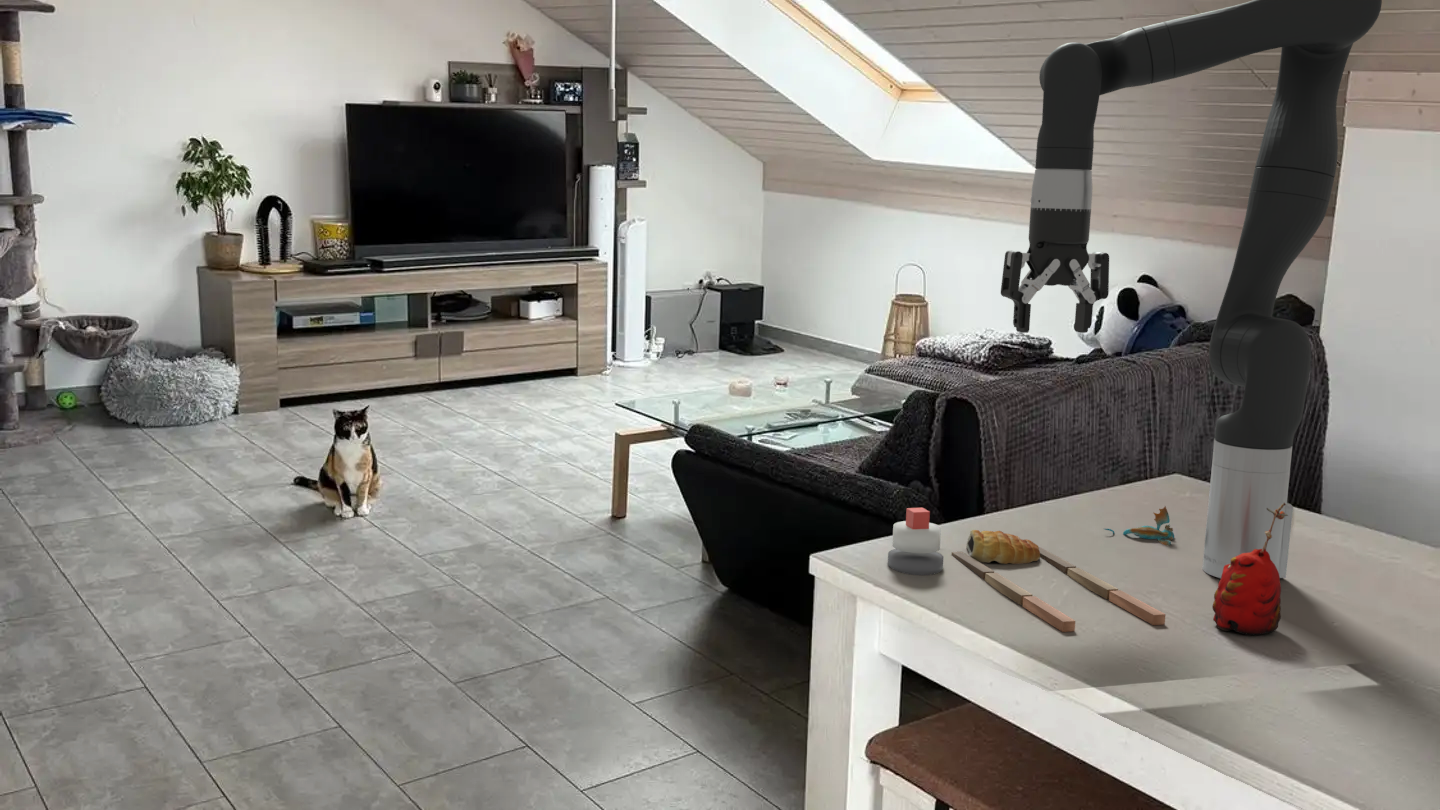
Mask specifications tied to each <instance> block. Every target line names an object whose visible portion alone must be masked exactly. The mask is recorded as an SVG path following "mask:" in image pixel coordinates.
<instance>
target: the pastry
mask: <svg viewBox="0 0 1440 810" xmlns="http://www.w3.org/2000/svg"><path fill="white" fill-rule="evenodd" d="M969 533H970V534H969V536H968V538H967V541H966V549H967V550H968V553H969V554H968V556H970V557H972V558H973V559H975V560H977V561H978V562H980V563H991V562H994V561H995V562H997V563H998V564H1005V565H1007V564H1013V565H1015V564H1016V565H1017V564H1018V565H1019V564H1030V563H1032V562H1038V560H1040V558H1041V557H1040V551H1039V545H1038V544H1036V543H1035V542H1034V541H1032V540H1030V539H1022V538H1020V537H1019V536H1018V535H1014V534H1010V533H1005V532H1004V531H1001V530H995V531H991V530H982V531H980V530H978V529H972V530H970V532H969Z"/></svg>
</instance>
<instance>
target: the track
mask: <svg viewBox="0 0 1440 810" xmlns="http://www.w3.org/2000/svg"><path fill="white" fill-rule="evenodd" d="M1038 547H1039V546H1038ZM1039 551H1040V558H1042V559H1043V560H1044V561H1046V562H1048V563H1049V564H1051V565H1052V566H1053V567H1055V568H1057V569H1058V570H1059V571H1061V572H1062V573H1064V574H1066V575H1067V576H1068V577H1070V578H1071V579H1073V580H1074V581H1076V582H1077V583H1078V584H1081V586H1083V587H1084V588H1086V589H1088V590H1089V591H1091V592H1092V593H1095V594H1096V595H1098V596H1100V597H1101V598H1104V600H1108V601H1109V603H1110V602H1111V603H1113V604H1114V605H1116V606H1118V607H1120V608H1121V609H1123V610H1125V611H1126V612H1129V613H1130V614H1132V615H1134V616H1136V617H1138V618H1139V619H1141V620H1143V621H1145V622H1147V623H1149V624H1150V625H1152V626H1160V625H1161V626H1163V625H1165V623H1166V615H1167V614H1166V613H1164V612H1162V611H1160V610H1158V609H1157V608H1154V607H1153V606H1150V605H1149V604H1147V603H1145V602H1144V601H1141V600H1140V599H1138V598H1136V597H1134V596H1132V595H1131V594H1129V593H1127V592H1125V591H1123V590H1121V589H1120V590H1119V588H1117V587H1115V586H1114V585H1112V584H1110V583H1108V582H1106V581H1104V580H1102V579H1100V578H1098V577H1097V576H1095V575H1094V574H1091V573H1089V572H1087V571H1086V570H1083V568H1080V567H1077V566H1076V565H1074V564H1072V563H1071V562H1069V561H1067V560H1065V559H1063V558H1061V557H1059V556H1057V555H1056V554H1054V553H1052V552H1050V551H1048V550H1046V549H1045V548H1042V547H1039ZM951 556H952V557H954V558H955V559H956V560H957V561H959V562H960V563H962V565H964V566H966V567H967V568H968V567H969V568H970V570H971V571H972V570H973V571H974V572H973V571H972V572H973V573H975V574H976V575H977V574H978V575H977V576H978V577H980V578H981V579H982V578H983V579H982V580H984V581H985V582H986V583H987V584H989V585H991V587H993V588H994V589H996V590H997V591H998V592H999V593H1000V594H1003V595H1004V596H1005V597H1006V598H1008V599H1010V600H1012V601H1014V602H1015V603H1016V604H1018V605H1019V606H1022V607H1023V608H1024V609H1025V610H1027V611H1029V612H1030V613H1032V614H1033V615H1035V616H1036V617H1038V618H1039V619H1041V620H1043V621H1044V622H1045V623H1048V624H1049V625H1051V627H1054V628H1055V629H1057V630H1059V631H1060V632H1062V633H1069V632H1070V633H1071V632H1075V631H1076V620H1075V619H1074V618H1071V617H1070V616H1068V615H1067V614H1065V613H1063V612H1062V611H1060V610H1059V609H1057V608H1055V607H1053V606H1052V605H1050V604H1049V603H1047V602H1046V601H1043V600H1042V599H1040V598H1039V597H1037V596H1035V595H1033V593H1030V592H1029V591H1027V590H1026V589H1024V588H1022V587H1021V586H1019V585H1017V584H1016V583H1014V582H1013V581H1011V580H1010V579H1008V578H1007V577H1004V576H1003V575H1001V574H999V573H998V572H995V571H994V570H993V569H991V568H990V567H988V566H986V565H985V564H984V563H983V562H979V561H977V560H975V559H973V558H972V557H970V555H969V554H967V553H965V552H963V551H952V552H951ZM969 568H968V569H969Z"/></svg>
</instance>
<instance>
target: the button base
mask: <svg viewBox="0 0 1440 810" xmlns="http://www.w3.org/2000/svg"><path fill="white" fill-rule="evenodd" d="M887 565H888V567H889V568H890V569H892V570H893V571H896V572H899V573H902V574H907V575H913V576H914V575H915V576H931V575H930V574H932V575H935V574H939V573H941V572H942V571H943V570H942V569H944V555H943V554H942V553H940V552H938V551H936V552H932V553H910V552H904V551H900V550H898V549H895V548H893V549H891V550H889V551H888V553H887ZM940 571H941V572H940ZM938 572H939V573H938ZM934 573H935V574H934Z"/></svg>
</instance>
